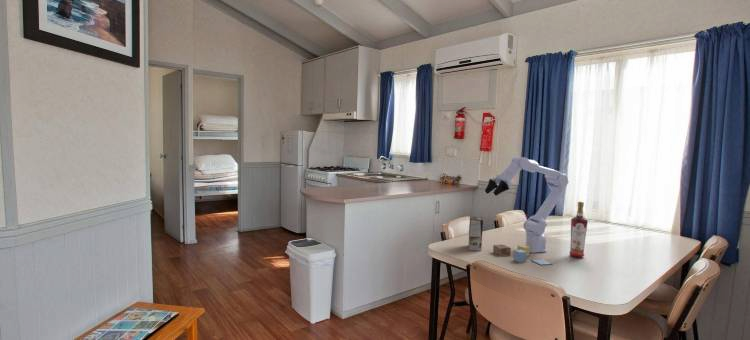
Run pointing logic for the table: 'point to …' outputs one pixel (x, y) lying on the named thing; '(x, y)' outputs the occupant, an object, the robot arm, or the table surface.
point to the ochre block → (525, 248)
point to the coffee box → (475, 233)
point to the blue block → (520, 256)
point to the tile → (541, 262)
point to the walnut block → (502, 250)
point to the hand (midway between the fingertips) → (490, 193)
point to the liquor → (578, 233)
